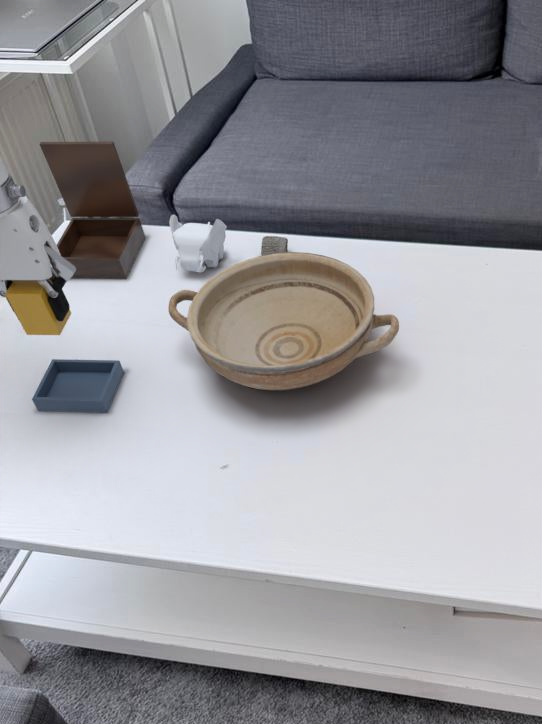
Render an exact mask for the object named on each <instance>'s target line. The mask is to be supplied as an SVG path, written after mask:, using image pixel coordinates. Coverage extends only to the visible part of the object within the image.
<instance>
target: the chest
mask: <svg viewBox="0 0 542 724" xmlns="http://www.w3.org/2000/svg"><path fill="white" fill-rule="evenodd" d="M145 240H146V234H145V231H144V228H143V226H142V223H141V219H140V217H71V220H70V221H69V223H68V225H67V227H66V228H65V229H64V232H63V233H62V235H61V237H60V238H59V240H58V242H57V243H56V245H57V247H58V249H59V252H60V254H61V256H62V257H63V258H64V259H66V260H67V261H68V262H70V263H71V264H72V265H74V266H75V267H76V271H75V273H74V275H73V276H72V277H71V278H70V279H99V280H101V279H102V280H103V279H105V280H106V279H107V280H108V279H109V280H111V279H113V280H114V279H115V280H119V279H120V280H127V278H128V276H129V274H130V272H131V270H132V267H133V266H134V264H135V260H136V259H137V257H138V255H139V253H140V251H141V248H142V246H143V244H144V242H145ZM51 267H52V268H53V269H54V271H55V272H56V273H57V274H58V275H59V273H60V271H59V270H58V269H57V268H55V267H54V266H53V265H51Z"/></svg>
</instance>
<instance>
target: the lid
mask: <svg viewBox="0 0 542 724" xmlns="http://www.w3.org/2000/svg"><path fill="white" fill-rule="evenodd" d="M39 147H40V149H41V151H42V154H43V156H44V159H45V161H46V163H47V165H48V167H49V170H50V172H51V175H52V177H53V179H54V181H55V184H56V186H57V188H58V190H59V193H60V195H61V198H62V200H63V202H64V205H65V207H66V209H67V212H68V214H69V216H70V217H71V218H139V216H140V213H139V210H138V208H137V204H136V203H135V202H136V201H135V200H134V196H133V193H132V190H131V188H130V185H129V182H128V179H127V176H126V174H125V170H124V168H123V164H122V162H121V159H120V156H119V154H118V150H117V147H116V145H115V142H114V140H113V141H111V140H110V141H40V142H39Z"/></svg>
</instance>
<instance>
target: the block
mask: <svg viewBox="0 0 542 724" xmlns="http://www.w3.org/2000/svg"><path fill="white" fill-rule="evenodd" d="M48 280H49V281H50V282H51V280H50V279H48ZM51 284H53V283H52V282H51ZM5 295H6V297H7V299H8V301H9V303H10V304H11V306H12V308H13V310H14V311H13V310H12V311H13V312H15V313H14V315H15V317H16V318H17V317H18V318H17V320H18V319H19V320H18V321H19V323H20V325H21V327H22V329H23V331H24V332H25V334H26V335H27V336H61V335H62V333H63V331H64V329H65V327H66V324H67V323H68V321H69V319H70V317H71V315H72V311H71V309H69V311H68V313H67V315H66V316H65V318H64V320H63V321H58V320H57V319H56V317H55V314H54V312H53V310H52V308H51V306H50V304H49V302H48V300H47V298H48V296H49V294H48V293H47V292H46V291H45V290H44V288H43V287H42V286H41V285H40V284H39V282H38V281H37V280H13V282H12V284H11V285H10V287H9V288H8V290H7V292H6V293H5ZM6 297H5V298H6ZM7 299H6V300H7ZM8 301H7V302H8ZM9 303H8V304H9ZM10 304H9V305H10ZM11 306H10V307H11ZM12 308H11V309H12Z"/></svg>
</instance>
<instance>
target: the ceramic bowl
mask: <svg viewBox="0 0 542 724" xmlns="http://www.w3.org/2000/svg"><path fill="white" fill-rule="evenodd" d="M184 301H191V303H190V305H189V307H188V312H187V316H185V315H183V314H181V313H180V312H179V311H178V310H177V307H178V304H180V303H182V302H184ZM374 312H375V296H374V292H373V289H372V287H371V285H370V283H369V281H368V280H367V279H366V278H365V277H364V276H363V274H361V273H360V272H359V271H358V270H357V269H356V268H354V267H352V266H351V265H349V264H348V263H346V262H343V261H341V260H339V259H336V258H333V257H330V256H327V255H323V254H319V253H311V252H301V251H300V252H299V251H297V252H296V251H290V252H289V251H287V253H275V254H269V255H263V256H262V255H260V256H259V255H258V256H256V257H252V258H249V259H245V260H243V261H240V262H238V263H235V264H233V265H231V266H229V267H227V268H225V269H223V270H222V271H220V272H219V273H217V274H215V275H214V276H213V277H211V278H210V279H209V280H208V281H207V282H206V283H205V284H204V285H202V287H200V289H199V290H198V291H195V290H190V289H182V290H179V291H177V292H176V293H175V294H173V295H171V296H170V299H169V301H168V314H169V316H170V318H171V319H172V320H173V321H174V322H175V323H176V324H178V325H179V326H180V327H182V328H183V329H185V330H186V331H188V332H189V336H190V338H191V340H192V341H193V343H194V345H195V348H196V350H197V352H198V353H199V355H200V356H201V357H202V359H203V360H204V362H205V363H206V364H207V365H208V366H210V368H211V369H213V370H214V371H215V372H216V373H217V374H219V375H220V376H222V377H224V378H225V379H227V380H229V381H231V382H233V383H235V384H239V385H242V386H244V387H247V388H252V389H256V390H262V391H263V390H264V391H289V390H290V391H291V390H296V389H302V388H306V387H310V386H312V385H316V384H319V383H321V382H323V381H326V380H328V379H330V378H331V377H333V376H335V375H337V374H339V373H340V372H342V371H343V370H344V369H345V368H346V367H347V366H348V365H350V364H351V363H352V362H353V361H354V360H355V359H357V358H361V357H363V356H366V355H370V354H373V353H375V352H378V351H381V350H382V349H384V348H386V347H387V346H389V345H390V344H391V343H392V342H393V341H394V339H395V338H396V336H397V335H398V333H399V331H400V322H399V319H398V317H397V316H396V315H394V314H388V313H387V314H381V315H380V314H379V315H378V314H375V313H374ZM385 326H390V327H389V328H388V330H387V331H386V332H385V333H384V334H382V335H381V336H380V337H377V338H376V339H373V340H370V341H369V338H370V336H371V332H372V330H375V329H377V328H380V327H381V328H382V327H385Z"/></svg>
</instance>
